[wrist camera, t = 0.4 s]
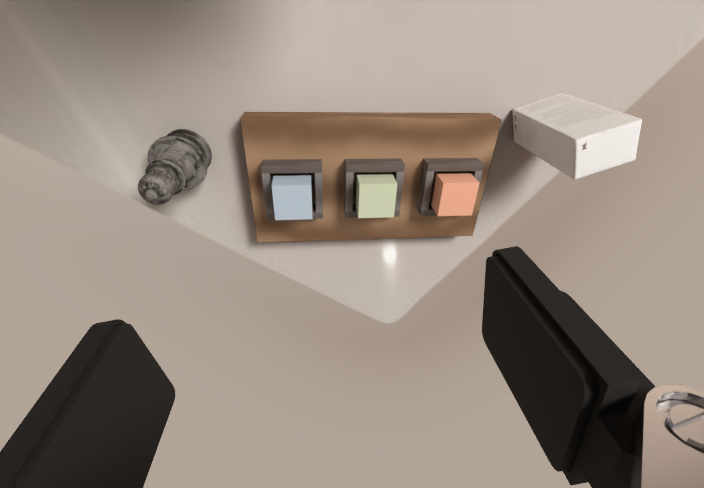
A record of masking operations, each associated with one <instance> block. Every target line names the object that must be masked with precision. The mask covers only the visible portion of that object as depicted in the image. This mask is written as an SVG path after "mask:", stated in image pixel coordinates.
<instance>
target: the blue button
mask: <svg viewBox="0 0 704 488" xmlns="http://www.w3.org/2000/svg"><path fill="white" fill-rule="evenodd" d="M272 195H273V205H274V214H275V220H303V219H313V217H312V185H311V175H298V176H274V177H273V181H272Z"/></svg>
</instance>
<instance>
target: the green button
mask: <svg viewBox="0 0 704 488" xmlns="http://www.w3.org/2000/svg"><path fill="white" fill-rule="evenodd" d="M396 193H397V182H396V180H395V178H394V176H393V174H379V175H357V186H356V211H357V215H358V218H385V217H394V212H395V203H396Z"/></svg>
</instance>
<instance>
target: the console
mask: <svg viewBox="0 0 704 488" xmlns="http://www.w3.org/2000/svg"><path fill="white" fill-rule="evenodd" d="M240 121H241V128H242V135H243V142H244V149H245V156H246V163H247V170H248V177H249V185H250V192H251V199H252V206H253V213H254V220H255V227H256V234H257V241H258V242H283V241H316V240H350V239H383V238H416V237H449V236H473V232H474V228H475V224H476V220H477V216H478V212H479V208H480V204H481V200H482V196H483V192H484V188H485V184H486V180H487V176H488V172H489V168H490V164H491V160H492V156H493V152H494V148H495V144H496V140H497V136H498V132H499V128H500V124H501V119H499V118H498V117H496V116H494V115H492V114H491V113H337V112H244V114H243V116H242V117H241V119H240ZM460 173H471V174H472V175H473V176H474V177H475V178H476V179H477V180H478V181H479V182H480V184H479V188H478V192H477V196H476V200H475V205H474V209H473V213H472V215H468V216H437V214H436V213H435V211H434V209H433V208H432V206H431V204H432V197H433V191H434V185H435V179H436V174H460ZM379 174H393V176H394V178H395V180H396V182H397V193H396V203H395V212H394V217H385V218H358V215H357V211H356V186H357V175H379ZM298 175H311V185H312V217H313V219H303V220H275V214H274V205H273V195H272V181H273V177H274V176H298Z"/></svg>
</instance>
